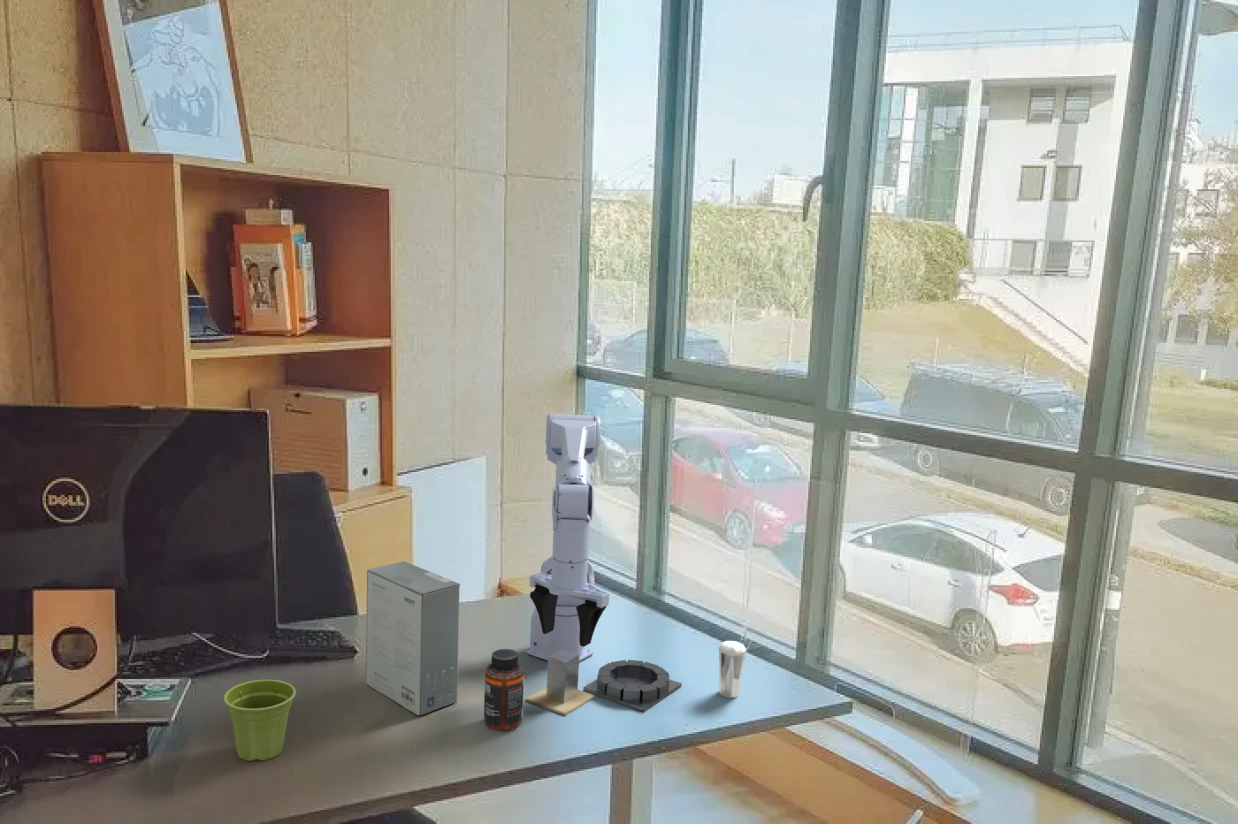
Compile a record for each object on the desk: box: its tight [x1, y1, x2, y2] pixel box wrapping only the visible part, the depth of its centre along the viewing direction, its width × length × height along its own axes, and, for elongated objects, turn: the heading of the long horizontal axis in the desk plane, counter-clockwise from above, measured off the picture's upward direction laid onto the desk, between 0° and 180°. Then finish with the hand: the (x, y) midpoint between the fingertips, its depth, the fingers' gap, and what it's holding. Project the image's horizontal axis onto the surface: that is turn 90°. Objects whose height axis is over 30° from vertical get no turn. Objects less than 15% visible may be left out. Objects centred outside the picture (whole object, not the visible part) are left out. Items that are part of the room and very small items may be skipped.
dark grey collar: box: [582, 659, 683, 713], centre depth 161 cm, size 12×12×2 cm
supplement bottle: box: [483, 648, 525, 732], centre depth 146 cm, size 6×6×11 cm
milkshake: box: [718, 640, 753, 699], centre depth 160 cm, size 4×5×10 cm
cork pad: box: [525, 686, 596, 716], centre depth 156 cm, size 8×8×1 cm
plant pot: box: [223, 679, 297, 762], centre depth 135 cm, size 9×9×9 cm
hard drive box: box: [365, 560, 461, 716], centre depth 154 cm, size 16×8×20 cm, turn 47°
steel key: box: [546, 650, 580, 703], centre depth 156 cm, size 4×4×7 cm
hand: (566, 638), depth 155 cm, fingers open, 7 cm apart
